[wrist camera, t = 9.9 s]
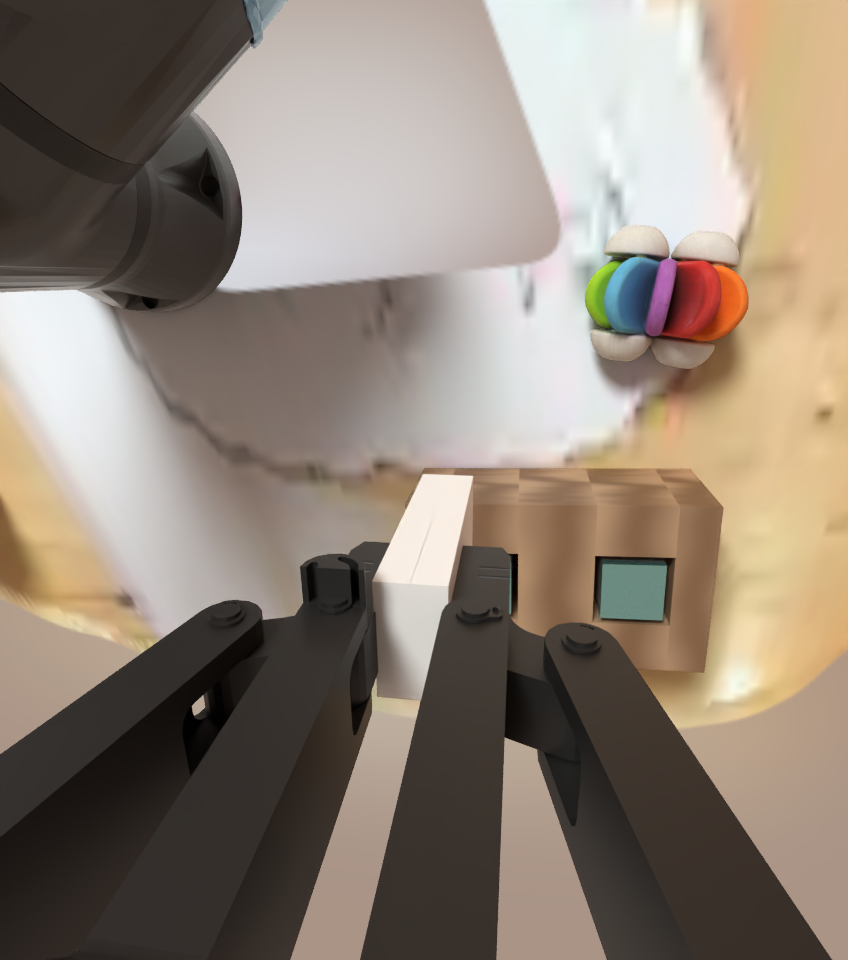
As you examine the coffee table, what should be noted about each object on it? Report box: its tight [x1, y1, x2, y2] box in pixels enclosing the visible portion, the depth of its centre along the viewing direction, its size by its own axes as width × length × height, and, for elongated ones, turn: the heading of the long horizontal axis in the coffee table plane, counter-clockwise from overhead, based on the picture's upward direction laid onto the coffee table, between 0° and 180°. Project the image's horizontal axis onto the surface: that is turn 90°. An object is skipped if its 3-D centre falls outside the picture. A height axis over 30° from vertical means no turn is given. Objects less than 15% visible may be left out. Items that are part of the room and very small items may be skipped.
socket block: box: [405, 468, 723, 673], centre depth 44 cm, size 20×12×8 cm, turn 93°
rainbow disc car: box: [585, 225, 748, 369], centre depth 38 cm, size 8×10×7 cm
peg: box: [594, 556, 667, 620], centre depth 43 cm, size 4×4×8 cm
